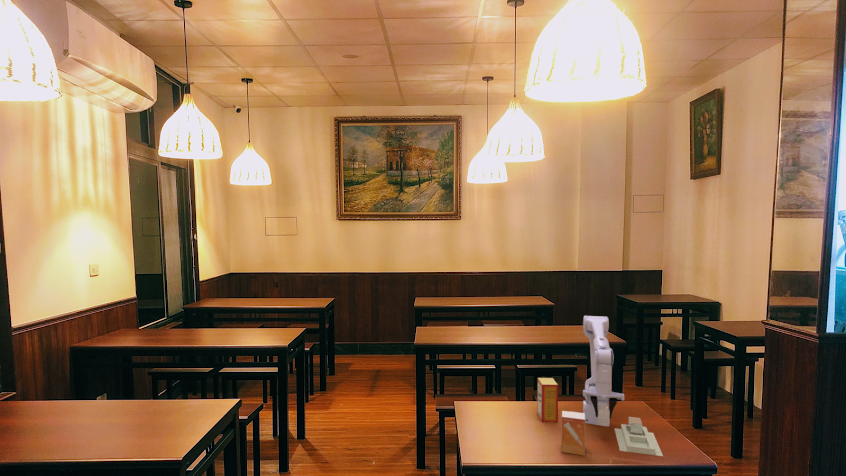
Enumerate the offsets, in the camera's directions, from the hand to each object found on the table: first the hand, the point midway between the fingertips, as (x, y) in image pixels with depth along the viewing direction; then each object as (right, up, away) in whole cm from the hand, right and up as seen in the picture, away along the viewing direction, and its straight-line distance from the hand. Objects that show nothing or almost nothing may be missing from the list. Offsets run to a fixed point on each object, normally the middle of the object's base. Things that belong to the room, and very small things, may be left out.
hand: (603, 416), depth 178 cm
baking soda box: (-15, -9, +21) cm, 28 cm away
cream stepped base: (+12, -9, -2) cm, 15 cm away
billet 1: (0, -2, 0) cm, 2 cm away
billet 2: (+13, -8, +2) cm, 16 cm away
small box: (-14, -9, -8) cm, 19 cm away
